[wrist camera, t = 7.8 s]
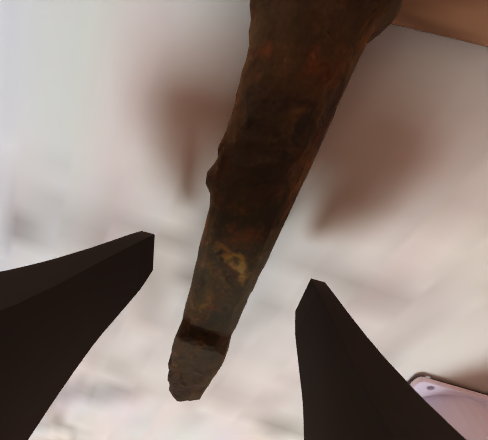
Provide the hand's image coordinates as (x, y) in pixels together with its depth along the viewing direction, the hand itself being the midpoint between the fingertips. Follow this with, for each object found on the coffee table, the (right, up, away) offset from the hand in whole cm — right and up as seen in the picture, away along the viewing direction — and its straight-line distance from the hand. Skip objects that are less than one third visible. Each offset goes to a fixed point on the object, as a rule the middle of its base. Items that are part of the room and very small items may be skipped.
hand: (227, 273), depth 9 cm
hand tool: (+1, +1, +4) cm, 5 cm away
